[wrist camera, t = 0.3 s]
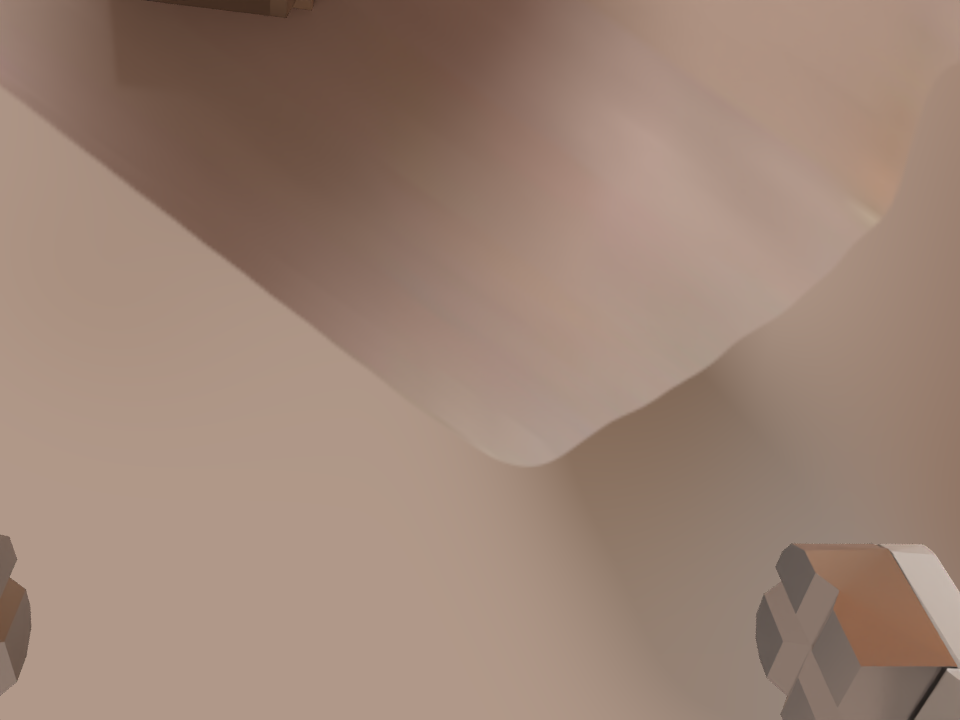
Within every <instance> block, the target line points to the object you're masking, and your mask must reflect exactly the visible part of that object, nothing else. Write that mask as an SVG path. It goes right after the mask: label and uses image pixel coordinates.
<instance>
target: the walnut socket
mask: <svg viewBox="0 0 960 720" xmlns="http://www.w3.org/2000/svg"><path fill="white" fill-rule="evenodd" d="M147 1H155V2H163V3H171V4H179V5H187V6H195V7H203V8H211V9H220V10H228V11H236V12H244V13H252V14H260V15H268V16H276V17H284V18H287V16H288V14H289V12H290V10H291V9H292V8H297V9H305V10H312V8H313V6H314V0H147Z"/></svg>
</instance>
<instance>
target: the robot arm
mask: <svg viewBox="0 0 960 720" xmlns="http://www.w3.org/2000/svg"><path fill="white" fill-rule="evenodd" d="M16 561H17V558H16V555H15V552H14V549H13V546H12V543H11V540H10V537H8V536H4V535H0V695H1V694H3V693H4V692H5V691H6V690H8V689H9V688H10V687H11V686H12V685H14V684H15V683H16V682H17V680H18V677H19V675H20V672H21V669H22V666H23V664H24V661H25V658H26V655H27V649H28V643H29V637H30V631H31V612H30V603H29V600H28V596H27V592H26V589H25V588H23V587H22V586H21V585H19V584H18V583H17V582H15V581H14V580H12V579H11V578H10V575H11V572H12V570H13V568H14V565H15V563H16ZM776 570H777V572H778V574H779V577H780V579H781V582H780V583H778V584H777V585H776V586H774V587H773V588H771V589H770V590H769V591H767V592H766V593H764V595H763V598H762V600H761V603H760V606H759V609H758V611H757V614H756V643H757V648H758V653H759V658H760V661H761V664H762V666H763V669H764V672H765V675H766V677H767V679H769V680H770V681H771V682H772V683H773V684H774V685H775V686H776V687H778V688H779V689H780V690H781V691H782V692H783V693H785V694H786V695H787V697H786V700H785V703H784V706H783V709H782V712H781V717H782V719H783V720H960V592H959V591H958V589H957V588H956V586H955V584H954V583H953V581H952V580H951V578H950V577H949V575H948V574H947V572H946V571H945V569H944V567H943V566H942V564H941V563H940V561H939V559H938V558H937V556H936V555H935V554H934V552H932V551H931V550H930V549H929V548H927V547H926V546H924V545H923V544H878V545H874V544H790V545H789V546H788V547H787V548H786V549H784V550H783V551H782V553H781V555H780V558H779V560H778V562H777V564H776Z"/></svg>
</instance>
